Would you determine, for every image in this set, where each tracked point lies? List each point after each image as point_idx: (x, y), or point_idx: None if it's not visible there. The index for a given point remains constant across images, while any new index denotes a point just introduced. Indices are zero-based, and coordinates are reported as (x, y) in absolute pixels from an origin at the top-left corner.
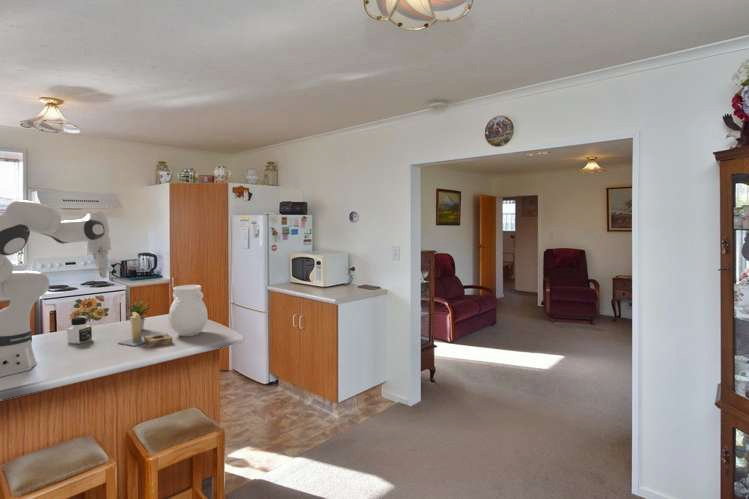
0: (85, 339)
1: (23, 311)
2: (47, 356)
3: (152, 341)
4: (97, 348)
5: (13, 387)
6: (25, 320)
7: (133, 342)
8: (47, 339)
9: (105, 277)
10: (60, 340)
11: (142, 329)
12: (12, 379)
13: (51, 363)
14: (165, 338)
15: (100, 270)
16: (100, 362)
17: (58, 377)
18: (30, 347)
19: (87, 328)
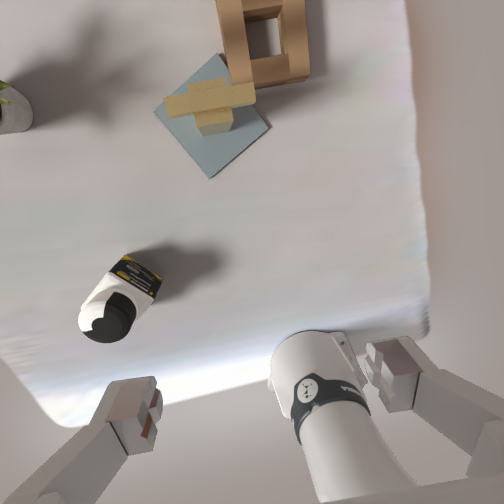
0: (144, 270)
1: (405, 470)
2: (254, 324)
3: (308, 62)
4: (235, 230)
5: (425, 331)
6: (377, 436)
7: (229, 130)
8: (78, 358)
9: (405, 342)
10: None
11: (14, 89)
12: None
13: (316, 306)
14: (302, 4)
15: (87, 492)
16: (371, 212)
17: (420, 278)
18: (332, 365)
19: (126, 279)
